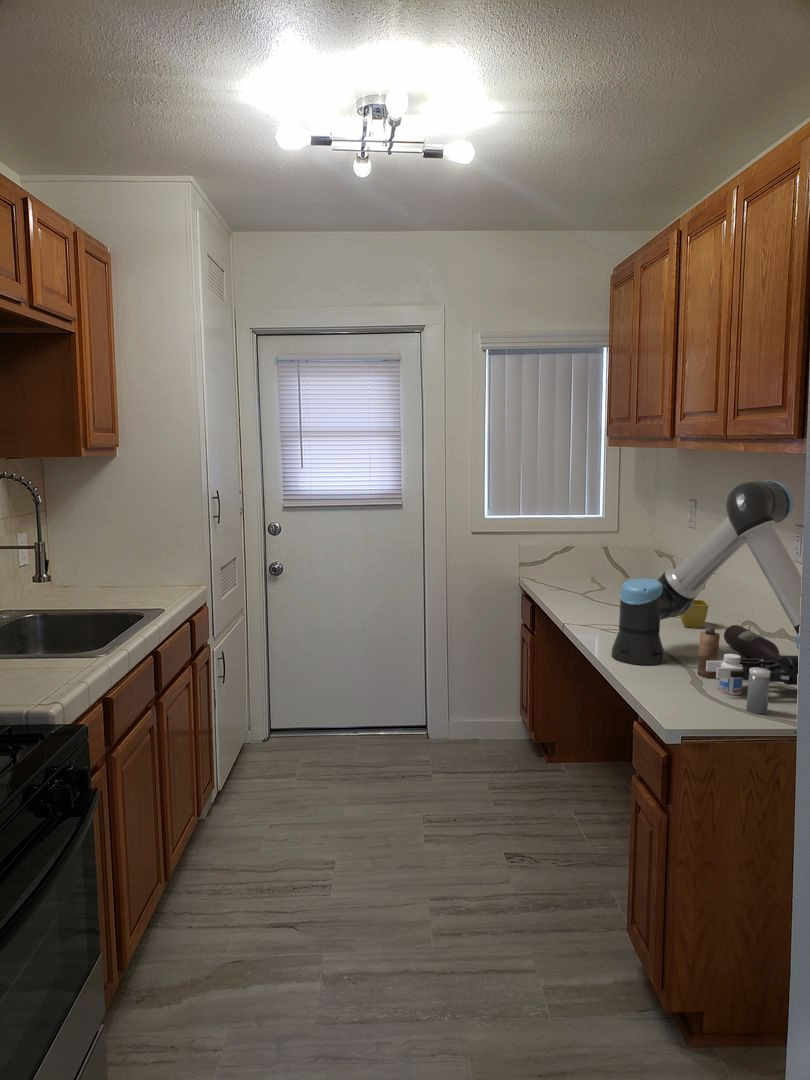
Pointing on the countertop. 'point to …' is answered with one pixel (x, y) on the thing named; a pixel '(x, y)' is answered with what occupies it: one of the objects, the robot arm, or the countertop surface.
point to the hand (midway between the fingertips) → (712, 669)
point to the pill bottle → (731, 684)
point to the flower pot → (695, 614)
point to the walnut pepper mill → (708, 651)
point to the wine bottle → (751, 644)
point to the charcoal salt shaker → (758, 690)
